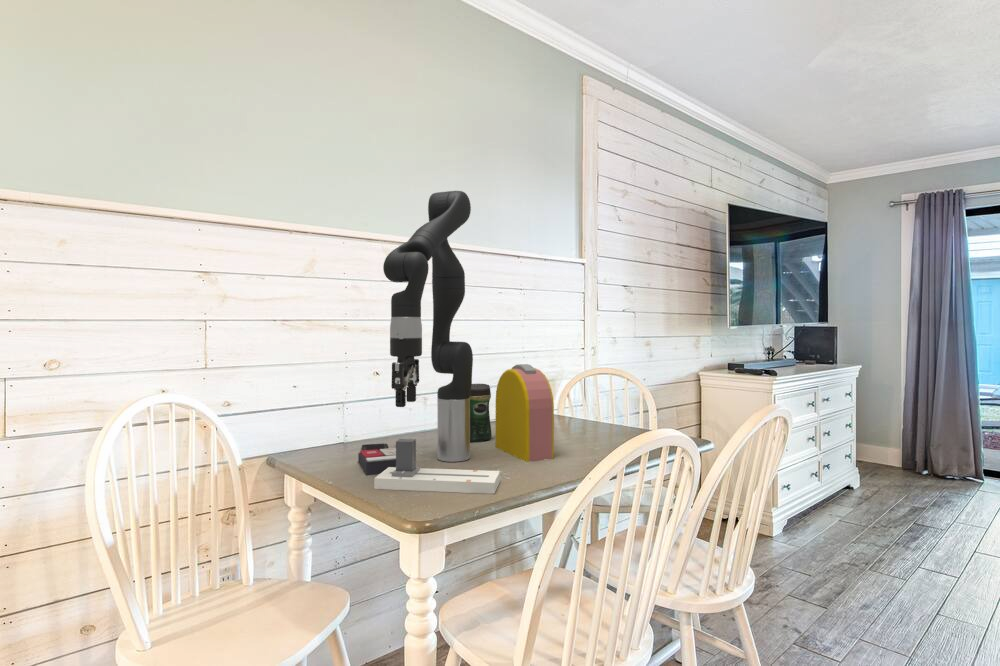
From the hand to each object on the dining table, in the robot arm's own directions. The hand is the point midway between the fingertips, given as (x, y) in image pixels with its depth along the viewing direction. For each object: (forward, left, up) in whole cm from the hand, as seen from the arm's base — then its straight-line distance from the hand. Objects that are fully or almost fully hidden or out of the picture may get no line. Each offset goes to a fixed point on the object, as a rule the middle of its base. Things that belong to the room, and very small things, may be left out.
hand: (406, 404), depth 131 cm
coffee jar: (-52, +8, -19) cm, 56 cm away
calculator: (-15, -11, -20) cm, 27 cm away
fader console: (0, +8, -19) cm, 21 cm away
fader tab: (0, 0, -16) cm, 16 cm away
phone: (-31, -19, -20) cm, 41 cm away
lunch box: (-36, +25, -19) cm, 48 cm away
